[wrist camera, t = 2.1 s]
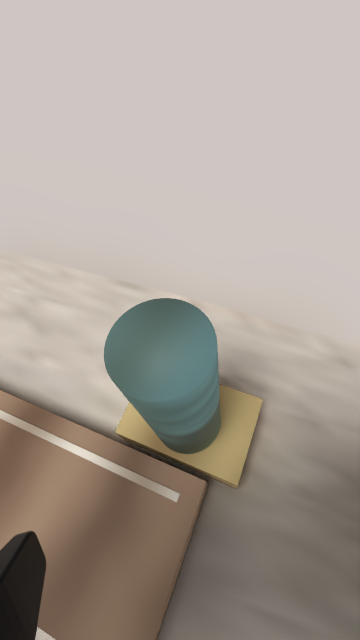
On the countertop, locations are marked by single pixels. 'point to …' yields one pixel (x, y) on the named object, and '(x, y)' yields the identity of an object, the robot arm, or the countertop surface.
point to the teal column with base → (179, 389)
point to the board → (94, 523)
